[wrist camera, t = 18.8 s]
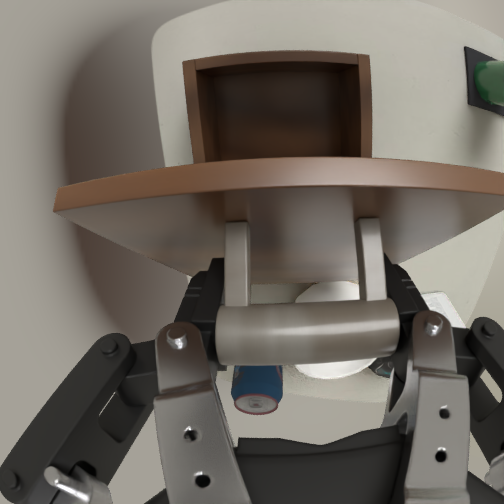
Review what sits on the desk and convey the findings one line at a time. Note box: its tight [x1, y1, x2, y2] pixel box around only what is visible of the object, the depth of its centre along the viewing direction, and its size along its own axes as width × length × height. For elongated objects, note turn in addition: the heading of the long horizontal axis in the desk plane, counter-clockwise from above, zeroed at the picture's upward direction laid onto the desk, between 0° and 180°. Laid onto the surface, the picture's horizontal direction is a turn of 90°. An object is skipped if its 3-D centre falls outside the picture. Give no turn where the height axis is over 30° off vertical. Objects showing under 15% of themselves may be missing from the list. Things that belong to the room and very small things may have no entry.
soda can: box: [231, 365, 283, 415], centre depth 38 cm, size 7×7×12 cm
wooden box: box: [182, 50, 372, 164], centre depth 25 cm, size 20×14×8 cm
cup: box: [294, 281, 376, 379], centre depth 34 cm, size 12×12×10 cm
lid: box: [53, 157, 504, 366], centre depth 16 cm, size 21×14×5 cm
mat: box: [464, 46, 504, 116], centre depth 20 cm, size 8×8×1 cm
